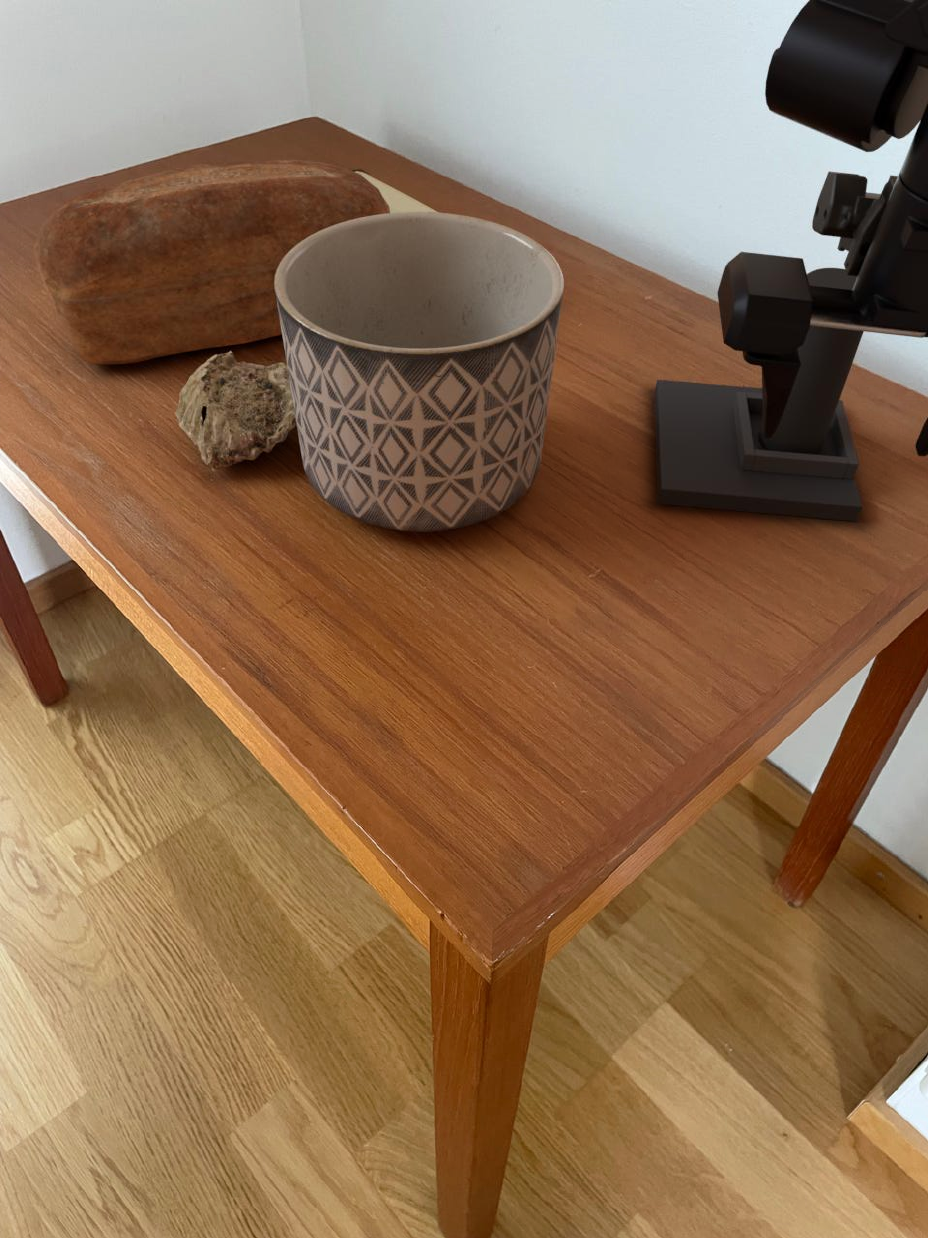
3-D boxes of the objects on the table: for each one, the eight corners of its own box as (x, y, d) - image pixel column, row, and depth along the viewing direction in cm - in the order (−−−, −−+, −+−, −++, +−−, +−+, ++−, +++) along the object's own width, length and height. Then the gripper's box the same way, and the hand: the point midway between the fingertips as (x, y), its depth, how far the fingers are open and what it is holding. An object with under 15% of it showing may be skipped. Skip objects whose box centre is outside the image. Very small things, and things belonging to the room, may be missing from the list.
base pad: (828, 408, 83) (839, 378, 81) (856, 522, 73) (869, 491, 71) (654, 393, 84) (660, 363, 82) (657, 504, 74) (664, 473, 72)
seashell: (199, 505, 77) (305, 473, 74) (142, 443, 72) (253, 405, 69) (229, 413, 84) (327, 379, 81) (179, 350, 79) (282, 311, 76)
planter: (285, 416, 81) (259, 223, 69) (505, 388, 84) (517, 200, 72) (319, 571, 68) (294, 368, 56) (576, 531, 72) (604, 332, 60)
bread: (409, 323, 92) (405, 179, 82) (72, 386, 83) (23, 235, 74) (369, 265, 99) (361, 127, 89) (57, 318, 91) (11, 172, 81)
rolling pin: (543, 310, 94) (547, 261, 90) (499, 328, 91) (502, 279, 88) (356, 195, 111) (353, 150, 107) (314, 208, 108) (310, 162, 105)
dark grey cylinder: (836, 454, 76) (895, 296, 67) (780, 467, 75) (831, 308, 65) (799, 417, 80) (849, 261, 70) (744, 429, 78) (788, 272, 69)
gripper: (1100, 136, 51) (966, 381, 63) (750, 98, 52) (682, 349, 64) (1180, 239, 44) (1012, 495, 56) (772, 194, 44) (690, 457, 56)
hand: (842, 442), depth 58 cm, fingers open, 9 cm apart
